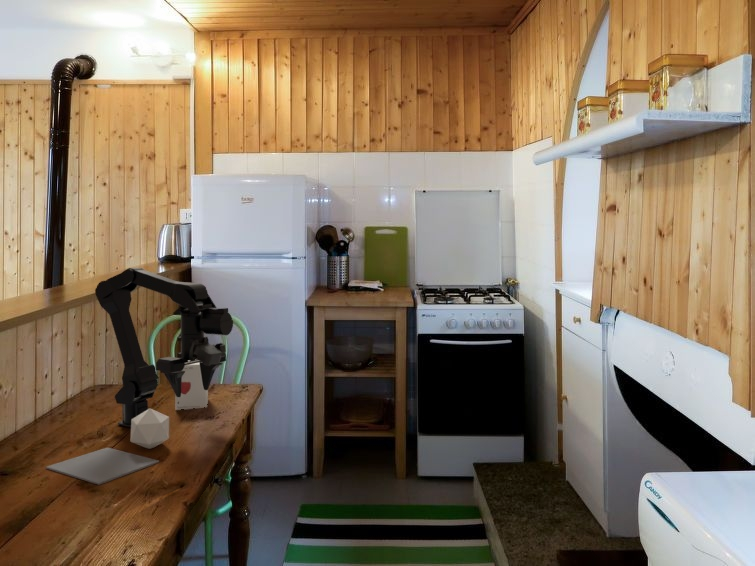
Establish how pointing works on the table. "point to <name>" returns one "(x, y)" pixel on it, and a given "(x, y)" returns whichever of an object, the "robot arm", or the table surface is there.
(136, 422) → the grey faceted block
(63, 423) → the table surface
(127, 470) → the mat
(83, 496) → the table surface
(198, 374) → the supplement box
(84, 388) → the table surface
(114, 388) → the table surface
